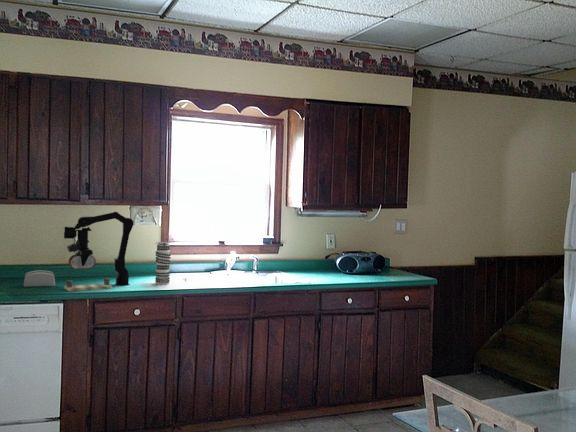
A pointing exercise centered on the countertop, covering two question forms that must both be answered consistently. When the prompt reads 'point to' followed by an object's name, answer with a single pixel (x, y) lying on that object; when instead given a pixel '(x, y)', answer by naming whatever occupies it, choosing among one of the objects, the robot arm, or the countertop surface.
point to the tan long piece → (87, 286)
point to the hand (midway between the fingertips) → (82, 265)
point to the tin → (77, 264)
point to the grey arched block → (39, 278)
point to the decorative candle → (162, 263)
